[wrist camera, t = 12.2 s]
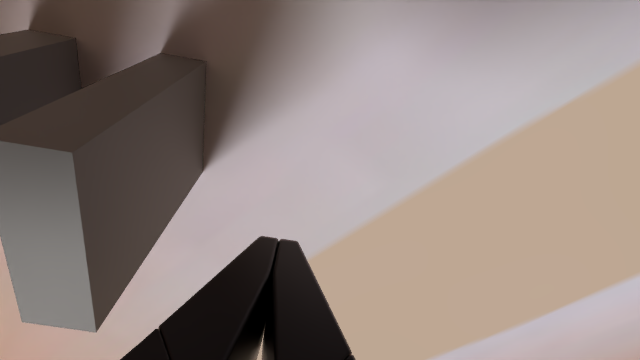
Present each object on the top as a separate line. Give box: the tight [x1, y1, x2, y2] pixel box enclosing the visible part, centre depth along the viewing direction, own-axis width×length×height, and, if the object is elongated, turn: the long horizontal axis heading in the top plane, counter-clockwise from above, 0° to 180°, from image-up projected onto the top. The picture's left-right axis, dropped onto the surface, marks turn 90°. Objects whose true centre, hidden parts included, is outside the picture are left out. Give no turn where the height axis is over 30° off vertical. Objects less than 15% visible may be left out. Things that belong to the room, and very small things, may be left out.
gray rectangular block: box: [0, 53, 206, 332], centre depth 11 cm, size 2×4×8 cm, turn 170°
